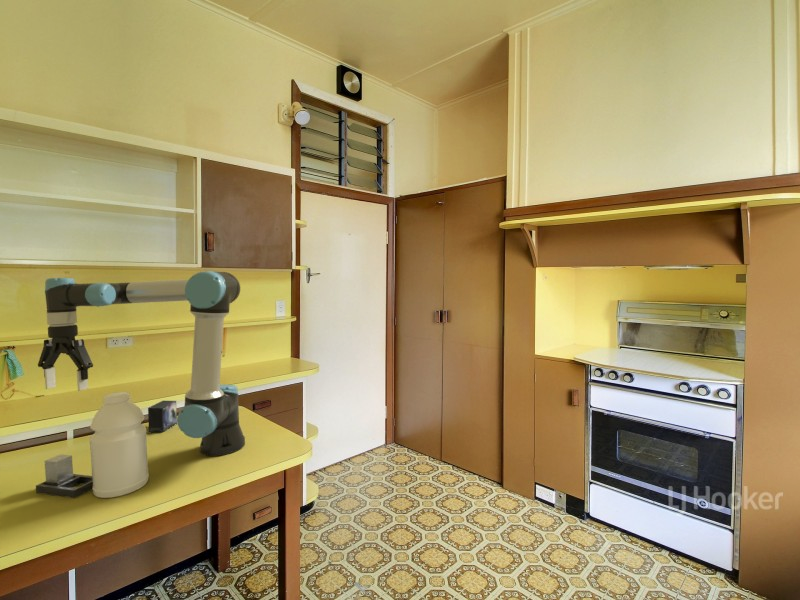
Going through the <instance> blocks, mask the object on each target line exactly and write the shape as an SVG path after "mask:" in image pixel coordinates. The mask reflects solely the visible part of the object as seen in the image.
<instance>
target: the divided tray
mask: <svg viewBox="0 0 800 600" xmlns="http://www.w3.org/2000/svg"><path fill="white" fill-rule="evenodd" d="M81 484H82V485H81ZM79 485H80V486H79ZM77 486H78V487H77ZM92 488H93V480H92V475H87V474H85V475H84V474H79V473H78V474H77V473H73V479H71V480H69V481H67V482H65V483H63V484H61V485H58V486H52V485H46V480H44V481H43V482H41V483H38V484H36V485H35V493H36V494H41V495H47V496H48V495H49V496H50V495H51V496H58V497H63V498H72V499H76V498H79V496H81V495H83V494H86V493H87V492H89V491H92Z"/></svg>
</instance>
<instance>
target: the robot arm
mask: <svg viewBox="0 0 800 600" xmlns="http://www.w3.org/2000/svg"><path fill="white" fill-rule="evenodd" d="M44 286H45V287H44V293H45V294H44V295H45V304H46V324H47V325H49V326H48V327H47V337H48V339H44V340H43V348H42V350H41V354H40V356H39V360H38V363H37V367H38V368H42V370H43V377H44V384H45V385H44V387H45V389H46V390H48V389H49V390H50V389H53V388H56V387H57V381H56V380H57V378H56V368H55V364H56V362H57V360H58V359H59V357H60V355H61V354H65V355H67V356H69V358H70V359H71V360H72V362H73V363H74V365H75V366H76V368H77V370H76V380H77V391H80V392H81V391H84V390H88V389H89V385H88V384H89V383H88V381H89V380H88V379H89V373H88V372H89V369H90V368H94V364H93V362H92V359H91V357H90V354H89V353H88V350H87V348H86V346H85V341H84V339H82V338H81V339H80V338H79V339H76V336H78V334H79V332H78V331H79V329H78V325H77V323H78V319H77V318H78V314H77V307H98V308H99V307H108V306H111V305H124V304H125V305H126V304H127V305H128V304H140V303H163V302H166V303H167V302H184V301H185V302H186V301H187V302H188V304H190V309H189V312H190V314H192V315H193V316H194V330H193V331H194V332H193V344H192V345H193V347H192V362H191V363H192V364H191V378H190V381H191V382H190V389H189V390H188V391H187V392H186V393H185V395H184V406H183V408H182V409H181V410H180V411H179V413H177V426H178V429H180V431H181V432H183V433H184V435H185V436H187V437H188V438H192V439H201V441H200V445H199V447H200V448H199V451H200V454H202V455H204V456H210V457H215V456H224V455H229V454H232V453H234V452H237V451H240V450H242V449H243V447H245V445H246V440H245V439H246V438H245V435H244V433H243V431H242V428H241V425H240V416H239V415H240V412H239V410H240V409H239V407H240V406H239V391H238V390H239V389H238V387H237V385H235V384H220V382H221V380H220V379H221V367H222V365H221V364H222V353H223V351H222V350H223V334H224V322H225V319H224V318H226V317H227V315H229V314H230V306H231V305H230V304H232V303H233V302H235V301H236V300H237V299H238V298H239V296H240V293H241V284H240V281H239V280H238V279H237V277H236V276H235V275H233V274H231V273H230V272H227V271H213V270H205V271H200V272H196V273H195V274H192V275H191V277H190V278H189V279H175V280H153V281H152V280H151V281H136V282H111V283H109V282H107V283H105V282H93V283H92V282H91V283H87V282H86V283H76V280H75V279H74V278H72V277H49V278H47V279H45V284H44Z"/></svg>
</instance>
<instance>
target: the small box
mask: <svg viewBox="0 0 800 600" xmlns="http://www.w3.org/2000/svg"><path fill="white" fill-rule="evenodd" d="M177 412H178V411H177V400H161V401H159V402H157V403H155V404H152V405H151V406H149V407H147V415H148V418H147V419H148V420H147V421H148V433H149V432H152V433H164V432H166V431H168V430H169V429H171V428H173V427H174V426H176V425H178V423H177V417H178V413H177ZM175 424H176V425H175ZM172 426H173V427H172ZM170 427H171V428H170ZM167 429H168V430H167Z"/></svg>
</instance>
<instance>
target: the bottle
mask: <svg viewBox="0 0 800 600" xmlns="http://www.w3.org/2000/svg"><path fill="white" fill-rule="evenodd" d="M131 399H132V398H131V393H130V392H127V391H126V392H125V391H123V392H121V391H120V392H115V393H109V394H106V395H105V396H103V398H102V403H103V405H102V406H101V407H100V408H99V409H98V410H97V412H96V413H95V415H94V417H93V418H92V421H91V424H90V425H89V426H90V427H89V429H90V430H92V431H93V432H94V433H93V434H92V435H91V436H90V438H89V447H90V463H91V476H92V480H93V488H92V489H91V491H92V493H93V495H94V497H96V498H99V499H107V498H108V499H109V498H112V499H113V498H116V497H122V496H125V495H128V494H131V493H133V492H135V491H137V490H139V489H141V488H143V487H144V486H145V485H146V484H147V483H148V481H149V476H150V474H149V465H148V446H147V441H148V440H147V427H146V426H144V424H142V422H143V421H144V420H145V414H144V413H143V411H142V410H141V408H140V406H138V405H137V404H136V403H134V402H133V401H131Z"/></svg>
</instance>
